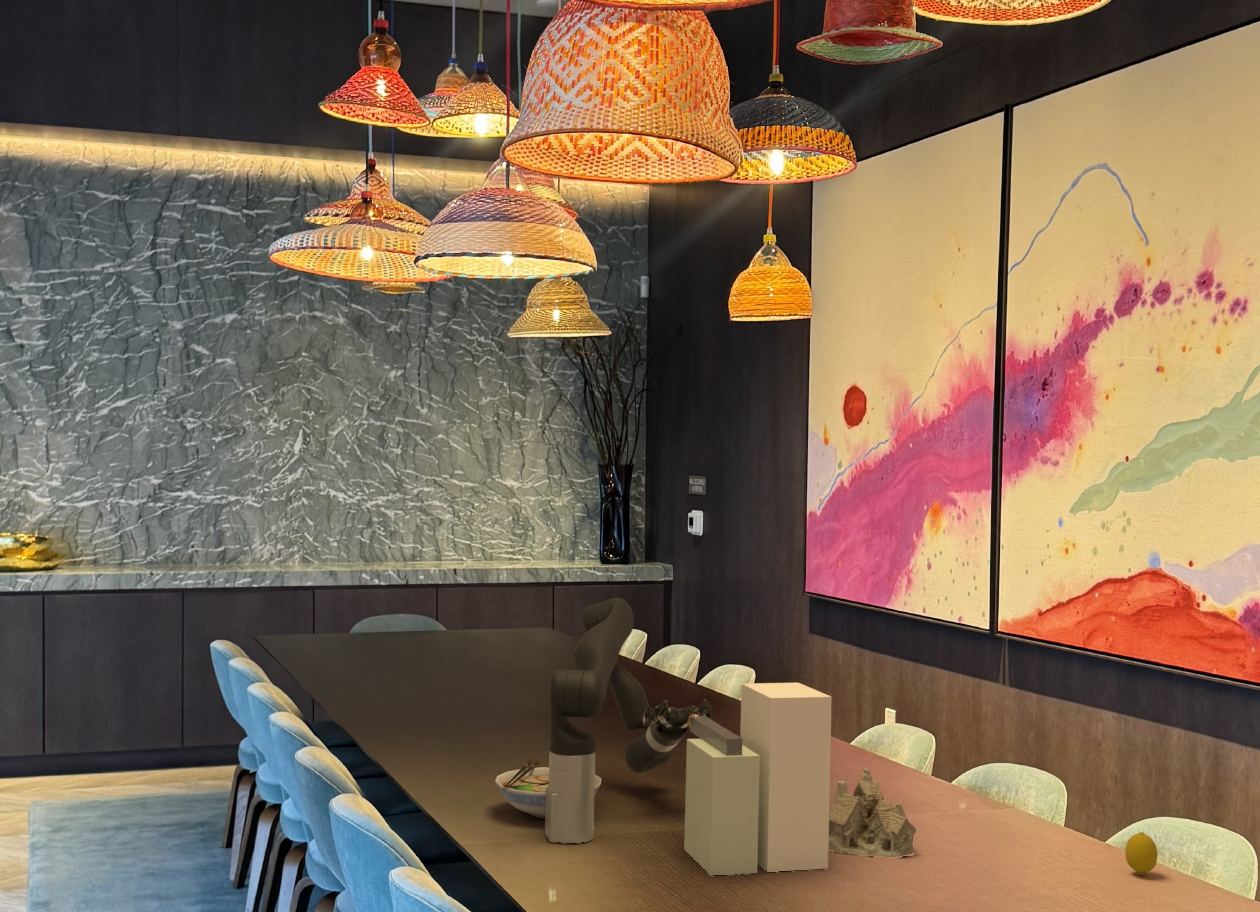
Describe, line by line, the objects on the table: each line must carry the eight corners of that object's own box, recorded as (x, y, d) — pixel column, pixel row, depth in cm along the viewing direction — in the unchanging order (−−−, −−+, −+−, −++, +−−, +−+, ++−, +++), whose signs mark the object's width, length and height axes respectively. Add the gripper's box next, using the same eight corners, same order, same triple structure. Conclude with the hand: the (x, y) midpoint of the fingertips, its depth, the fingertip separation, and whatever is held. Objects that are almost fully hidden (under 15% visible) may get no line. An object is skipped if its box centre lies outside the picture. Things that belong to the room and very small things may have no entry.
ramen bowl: (586, 834, 249) (587, 793, 250) (477, 825, 254) (478, 785, 254) (612, 803, 274) (613, 766, 274) (513, 796, 278) (514, 759, 279)
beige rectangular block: (710, 876, 225) (713, 757, 225) (684, 850, 240) (686, 739, 241) (757, 873, 227) (759, 755, 227) (728, 848, 243) (730, 737, 243)
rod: (726, 755, 227) (727, 739, 227) (687, 729, 250) (687, 714, 250) (742, 755, 228) (742, 738, 228) (701, 728, 251) (701, 713, 251)
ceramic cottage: (810, 840, 249) (816, 766, 248) (879, 836, 255) (885, 764, 255) (852, 868, 234) (859, 790, 234) (924, 863, 241) (931, 787, 240)
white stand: (767, 873, 228) (771, 698, 228) (737, 847, 243) (741, 683, 244) (827, 869, 231) (831, 696, 231) (794, 844, 246) (798, 682, 247)
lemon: (1148, 870, 235) (1149, 828, 235) (1162, 880, 229) (1163, 836, 229) (1120, 870, 234) (1120, 827, 235) (1132, 879, 229) (1133, 836, 229)
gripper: (633, 714, 270) (651, 687, 257) (695, 712, 274) (716, 686, 260) (636, 747, 266) (655, 722, 253) (699, 745, 270) (721, 721, 256)
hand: (686, 704), depth 256 cm, fingers open, 8 cm apart
